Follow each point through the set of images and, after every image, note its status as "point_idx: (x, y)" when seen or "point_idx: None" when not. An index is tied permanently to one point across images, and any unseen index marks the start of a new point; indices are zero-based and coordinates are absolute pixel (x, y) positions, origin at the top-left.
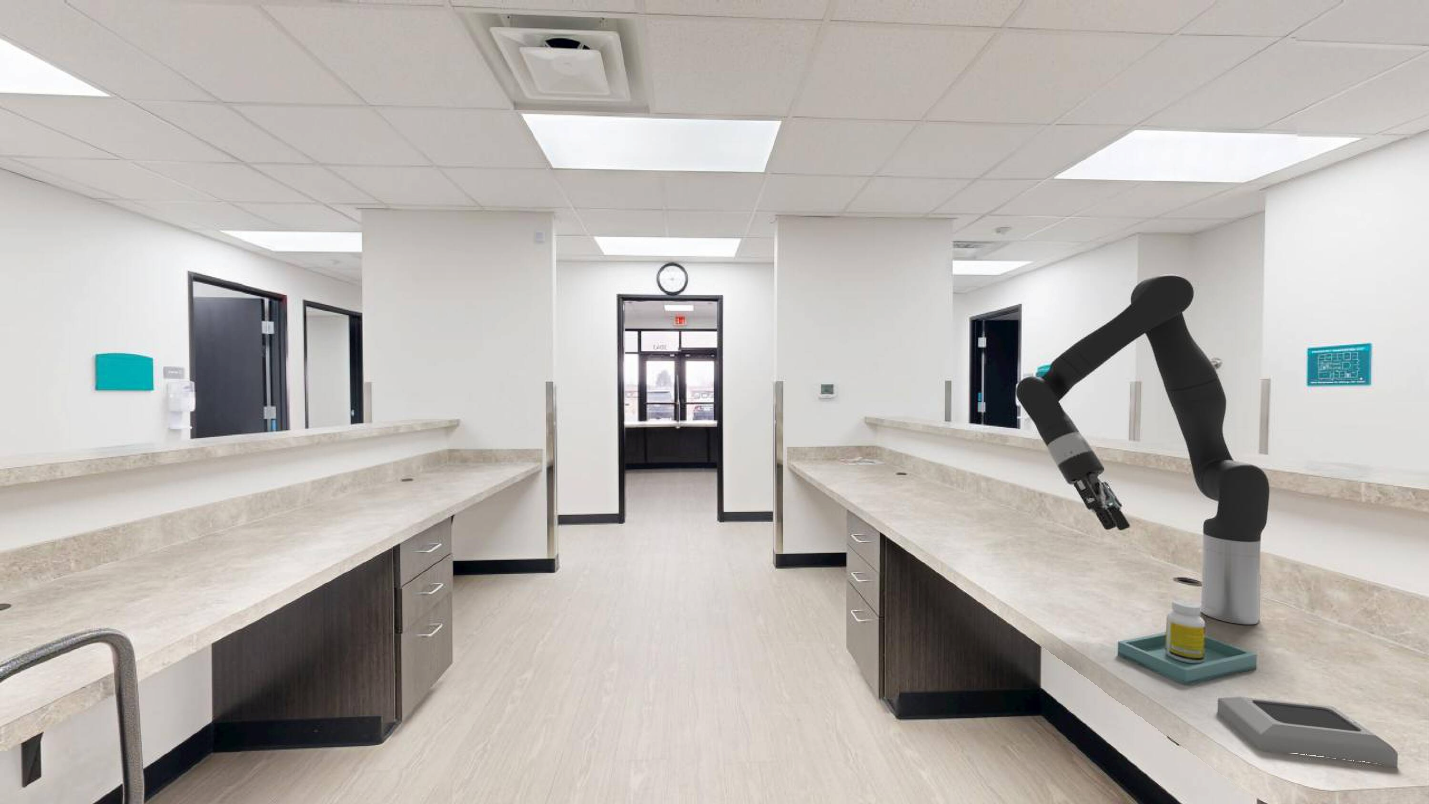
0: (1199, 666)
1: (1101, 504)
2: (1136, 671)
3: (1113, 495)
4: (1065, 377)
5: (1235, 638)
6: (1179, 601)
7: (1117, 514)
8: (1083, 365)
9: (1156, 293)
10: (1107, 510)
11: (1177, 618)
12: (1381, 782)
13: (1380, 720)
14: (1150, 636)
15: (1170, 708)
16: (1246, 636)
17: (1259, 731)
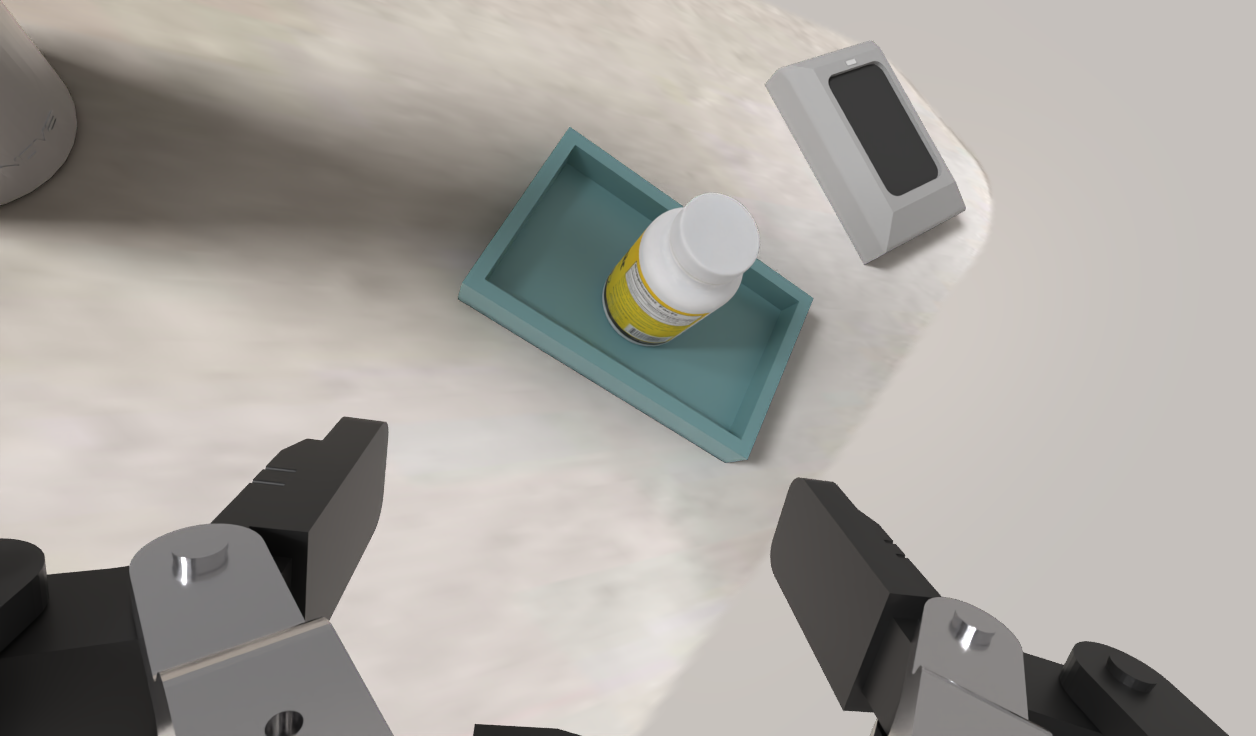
0: (766, 269)
1: (1081, 642)
2: (792, 409)
3: (197, 709)
4: None
5: (297, 151)
6: (713, 252)
7: (322, 555)
8: None
9: None
10: (906, 579)
11: (740, 279)
12: (911, 95)
13: (687, 7)
14: (632, 380)
15: (911, 339)
16: (241, 114)
17: (961, 208)
